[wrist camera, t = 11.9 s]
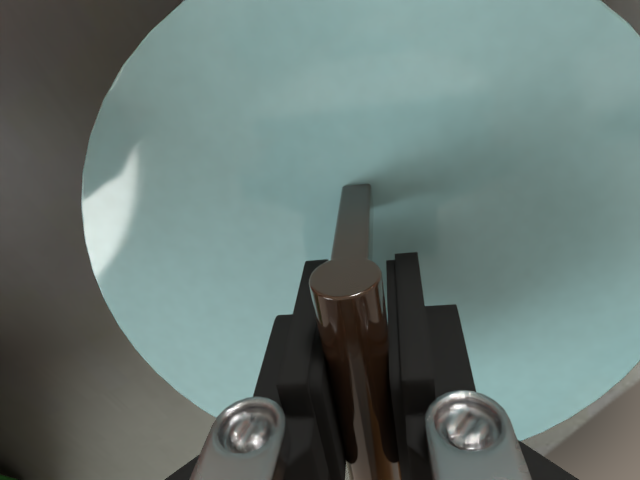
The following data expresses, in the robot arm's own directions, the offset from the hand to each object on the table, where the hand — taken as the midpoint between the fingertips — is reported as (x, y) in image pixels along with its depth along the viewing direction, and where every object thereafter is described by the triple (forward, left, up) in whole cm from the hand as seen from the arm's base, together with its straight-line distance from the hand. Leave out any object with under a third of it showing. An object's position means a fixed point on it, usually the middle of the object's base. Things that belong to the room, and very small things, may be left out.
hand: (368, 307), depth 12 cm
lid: (0, 0, -2) cm, 2 cm away
